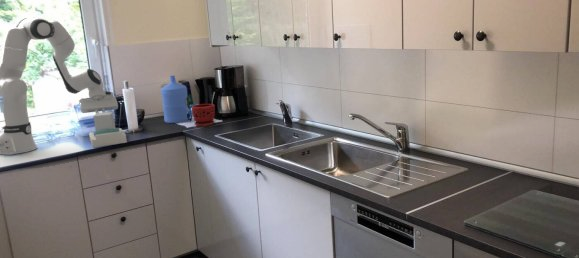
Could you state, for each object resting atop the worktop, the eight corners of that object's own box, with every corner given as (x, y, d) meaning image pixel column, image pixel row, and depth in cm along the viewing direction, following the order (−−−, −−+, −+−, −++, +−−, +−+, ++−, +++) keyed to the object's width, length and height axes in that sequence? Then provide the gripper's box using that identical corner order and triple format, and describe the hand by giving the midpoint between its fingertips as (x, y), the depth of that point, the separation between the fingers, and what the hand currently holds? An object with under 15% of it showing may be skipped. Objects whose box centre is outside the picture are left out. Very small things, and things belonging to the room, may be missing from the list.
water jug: (172, 124, 317) (167, 78, 310) (159, 121, 328) (154, 76, 322) (195, 119, 327) (190, 74, 320) (181, 117, 338) (176, 73, 332)
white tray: (90, 139, 290) (88, 129, 289) (121, 135, 297) (120, 124, 296) (93, 147, 273) (91, 136, 271) (126, 142, 279) (125, 131, 278)
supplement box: (117, 137, 291) (113, 111, 288) (114, 141, 283) (110, 114, 279) (100, 139, 290) (96, 112, 287) (97, 143, 282) (92, 115, 278)
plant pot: (217, 126, 305) (215, 105, 302) (194, 128, 302) (192, 108, 299) (215, 121, 317) (213, 102, 314) (193, 124, 314) (190, 104, 311)
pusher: (96, 143, 279) (95, 131, 278) (120, 140, 284) (118, 127, 282) (97, 145, 276) (95, 132, 274) (121, 141, 280) (119, 129, 279)
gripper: (78, 95, 298) (81, 115, 291) (115, 91, 306) (119, 110, 300) (78, 102, 303) (81, 121, 296) (115, 98, 311) (119, 117, 304)
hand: (101, 116), depth 298 cm, fingers closed
